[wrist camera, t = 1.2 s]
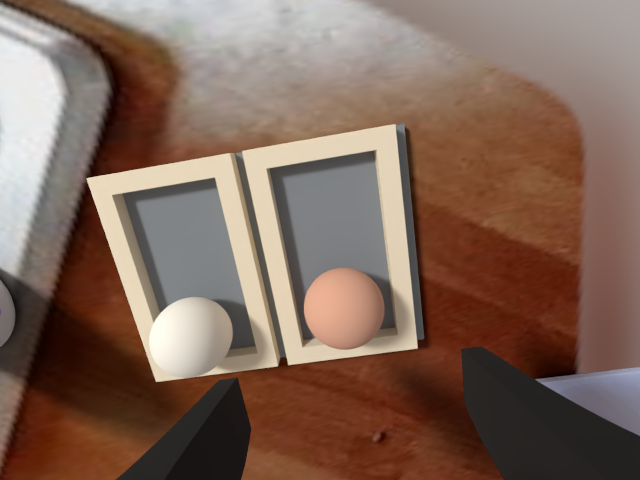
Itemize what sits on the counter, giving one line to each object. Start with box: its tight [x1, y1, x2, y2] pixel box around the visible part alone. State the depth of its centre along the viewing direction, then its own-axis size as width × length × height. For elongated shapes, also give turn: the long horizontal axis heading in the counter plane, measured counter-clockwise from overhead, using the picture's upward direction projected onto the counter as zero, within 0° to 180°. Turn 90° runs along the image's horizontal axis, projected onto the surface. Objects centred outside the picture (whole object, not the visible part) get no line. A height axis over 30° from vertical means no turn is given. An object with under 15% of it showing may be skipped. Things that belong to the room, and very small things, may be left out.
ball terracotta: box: [304, 268, 384, 350], centre depth 15 cm, size 4×4×4 cm
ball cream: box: [149, 297, 233, 378], centre depth 16 cm, size 4×4×4 cm
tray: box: [87, 124, 424, 382], centre depth 17 cm, size 17×12×1 cm
